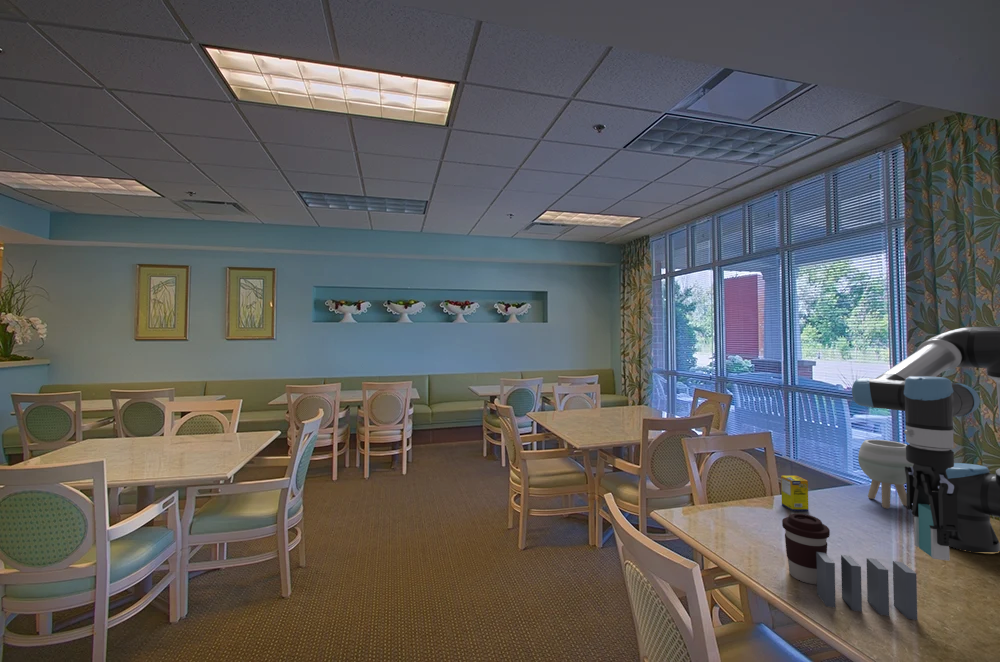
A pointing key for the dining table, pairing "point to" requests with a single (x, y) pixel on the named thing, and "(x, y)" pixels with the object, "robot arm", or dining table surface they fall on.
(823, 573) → the domino
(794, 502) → the supplement box
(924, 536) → the domino
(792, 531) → the coffee cup
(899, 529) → the dining table surface
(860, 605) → the domino
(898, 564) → the domino
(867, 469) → the planter
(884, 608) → the domino
